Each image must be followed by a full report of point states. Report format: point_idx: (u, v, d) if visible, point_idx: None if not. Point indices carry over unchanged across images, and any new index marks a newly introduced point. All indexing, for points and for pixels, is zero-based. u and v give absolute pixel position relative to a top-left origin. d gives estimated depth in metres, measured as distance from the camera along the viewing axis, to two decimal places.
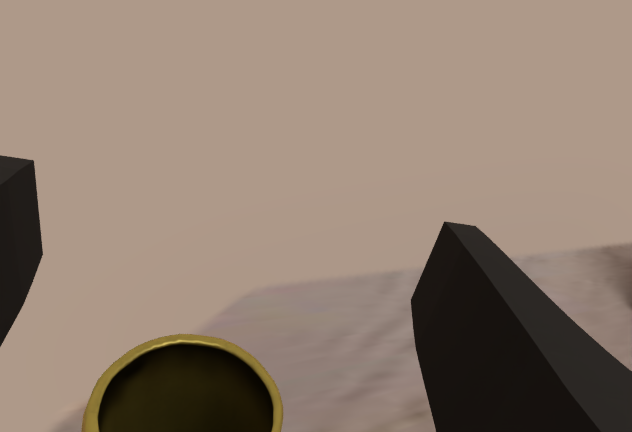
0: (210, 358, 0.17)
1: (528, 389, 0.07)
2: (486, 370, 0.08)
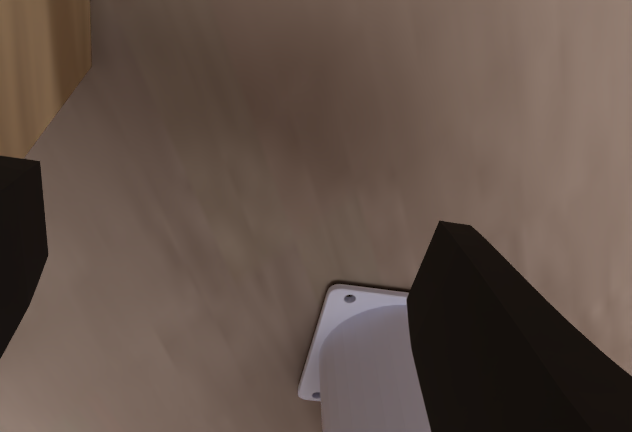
0: None
1: (521, 388, 0.07)
2: (479, 368, 0.08)
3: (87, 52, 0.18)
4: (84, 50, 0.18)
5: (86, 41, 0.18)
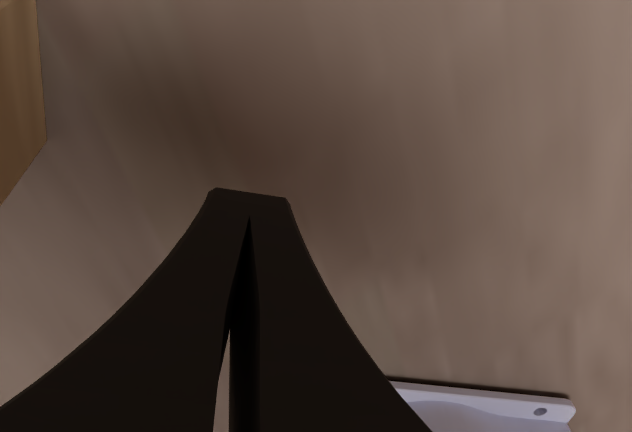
0: None
1: (252, 361, 0.07)
2: (246, 344, 0.08)
3: (39, 126, 0.14)
4: (34, 125, 0.14)
5: (37, 113, 0.14)
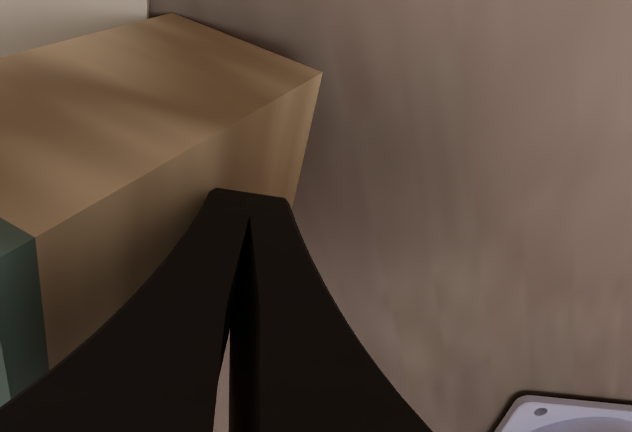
0: None
1: (252, 361, 0.07)
2: (246, 344, 0.08)
3: None
4: None
5: (287, 194, 0.13)
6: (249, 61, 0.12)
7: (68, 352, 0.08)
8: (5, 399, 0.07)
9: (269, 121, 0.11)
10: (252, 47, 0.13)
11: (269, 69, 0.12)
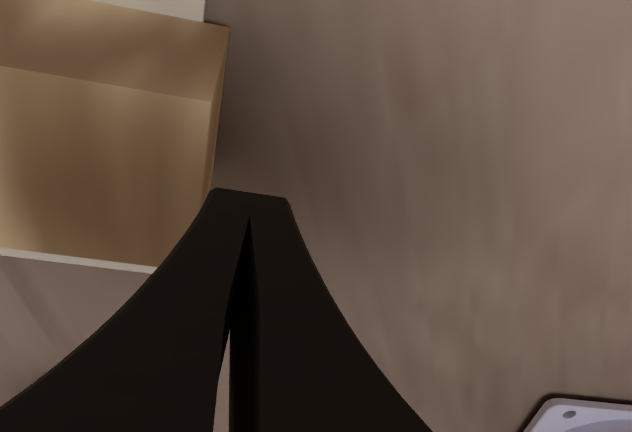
0: None
1: (252, 361, 0.07)
2: (246, 344, 0.08)
3: None
4: (158, 236, 0.11)
5: (173, 230, 0.11)
6: (171, 64, 0.11)
7: None
8: None
9: (85, 103, 0.10)
10: (220, 66, 0.11)
11: (166, 74, 0.10)
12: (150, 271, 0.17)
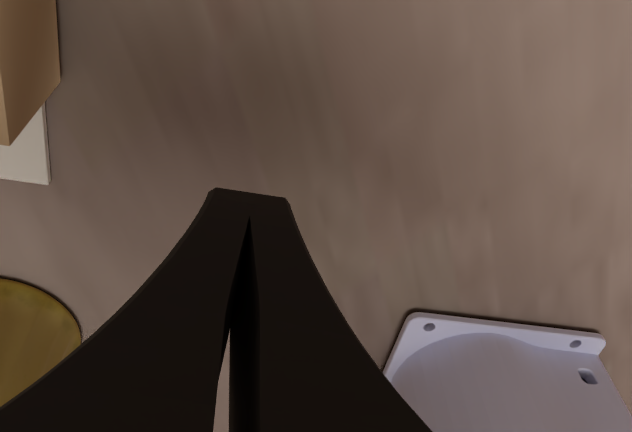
0: None
1: (252, 361, 0.07)
2: (246, 344, 0.08)
3: None
4: None
5: None
6: None
7: None
8: None
9: None
10: None
11: None
12: (21, 179, 0.20)
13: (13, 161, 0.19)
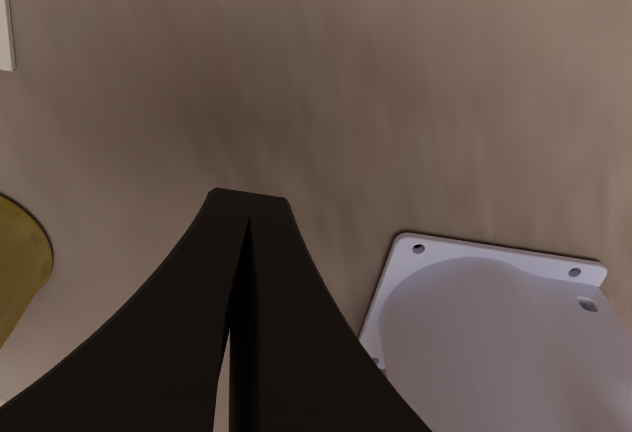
0: None
1: (252, 361, 0.07)
2: (246, 344, 0.08)
3: None
4: None
5: None
6: None
7: None
8: None
9: None
10: None
11: None
12: None
13: None
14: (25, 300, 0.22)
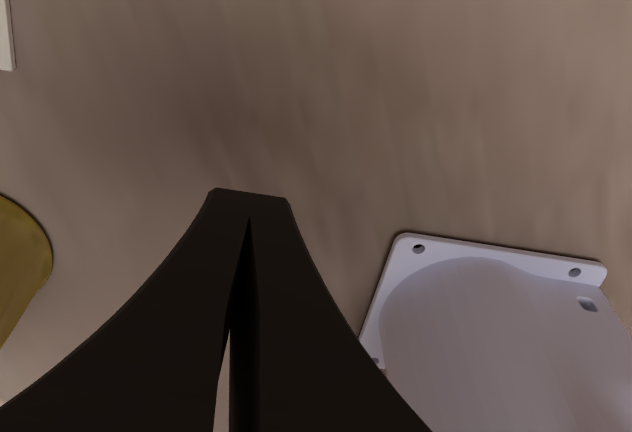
0: None
1: (252, 361, 0.07)
2: (246, 344, 0.08)
3: None
4: None
5: None
6: None
7: None
8: None
9: None
10: None
11: None
12: None
13: None
14: (25, 300, 0.22)
